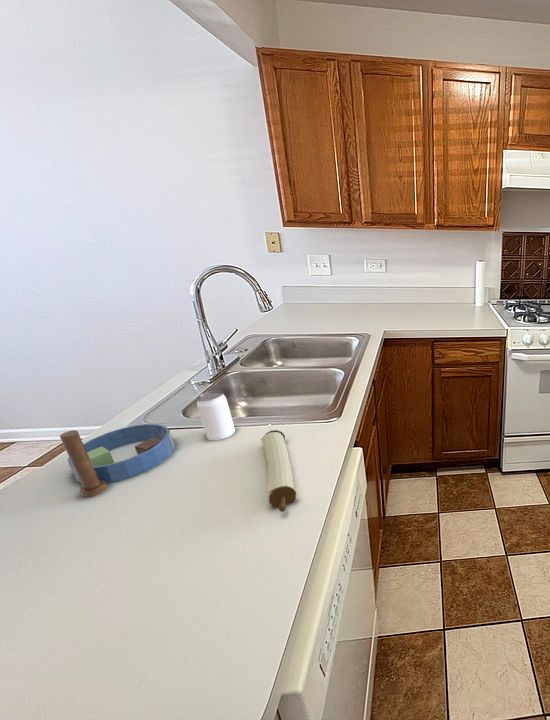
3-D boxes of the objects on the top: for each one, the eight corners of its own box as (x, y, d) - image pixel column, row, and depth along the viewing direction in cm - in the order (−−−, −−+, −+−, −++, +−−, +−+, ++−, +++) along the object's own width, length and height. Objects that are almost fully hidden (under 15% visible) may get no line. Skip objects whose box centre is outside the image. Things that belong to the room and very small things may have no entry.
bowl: (55, 493, 85) (46, 474, 83) (106, 446, 101) (98, 429, 99) (154, 479, 89) (147, 460, 87) (187, 436, 106) (181, 419, 104)
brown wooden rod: (79, 501, 83) (49, 440, 77) (88, 489, 86) (61, 430, 80) (103, 497, 84) (75, 436, 78) (111, 485, 87) (86, 426, 82)
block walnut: (151, 463, 94) (146, 449, 92) (139, 460, 95) (134, 446, 93) (168, 453, 97) (163, 439, 96) (156, 451, 98) (151, 437, 97)
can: (233, 426, 110) (222, 387, 106) (237, 436, 105) (226, 396, 101) (205, 434, 106) (193, 394, 102) (209, 445, 102) (196, 403, 97)
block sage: (93, 474, 90) (87, 460, 88) (86, 469, 92) (79, 454, 90) (115, 465, 93) (109, 451, 91) (108, 460, 95) (102, 446, 93)
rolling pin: (300, 515, 79) (296, 495, 77) (269, 525, 76) (263, 504, 75) (286, 437, 105) (283, 420, 103) (263, 442, 103) (259, 426, 101)
